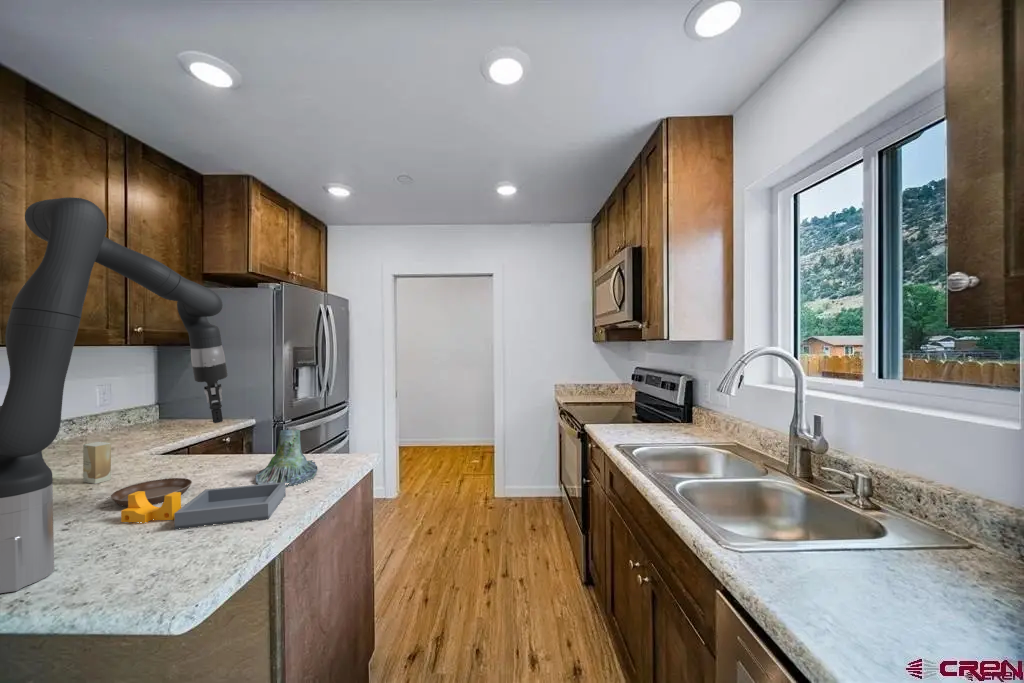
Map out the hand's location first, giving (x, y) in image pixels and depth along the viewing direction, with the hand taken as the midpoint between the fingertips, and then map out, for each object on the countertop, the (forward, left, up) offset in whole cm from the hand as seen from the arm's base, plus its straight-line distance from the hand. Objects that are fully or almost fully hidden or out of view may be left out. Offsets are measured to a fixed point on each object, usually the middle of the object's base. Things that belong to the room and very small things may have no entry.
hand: (217, 418), depth 117 cm
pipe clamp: (-11, +11, -23) cm, 28 cm away
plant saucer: (+7, +19, -24) cm, 31 cm away
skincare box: (+29, +45, -23) cm, 58 cm away
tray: (-11, -8, -23) cm, 27 cm away
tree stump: (+15, -14, -23) cm, 31 cm away
